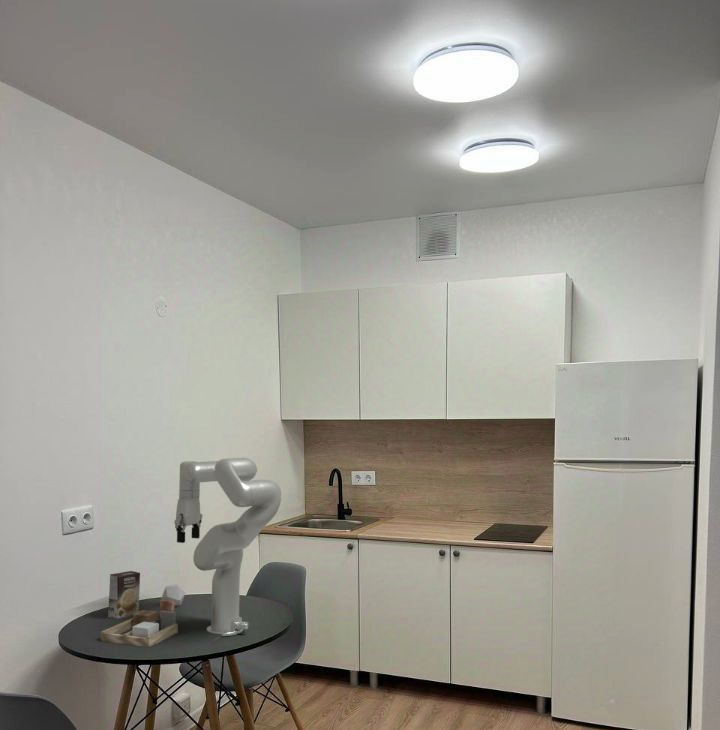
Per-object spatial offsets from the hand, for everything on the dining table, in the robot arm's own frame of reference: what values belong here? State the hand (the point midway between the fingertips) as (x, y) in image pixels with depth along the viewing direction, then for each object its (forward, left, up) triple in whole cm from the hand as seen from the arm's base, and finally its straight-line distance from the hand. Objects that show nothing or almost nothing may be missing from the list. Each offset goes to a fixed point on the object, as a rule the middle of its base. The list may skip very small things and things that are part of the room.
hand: (188, 540), depth 261 cm
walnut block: (+4, +14, -27) cm, 31 cm away
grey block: (-4, +26, -27) cm, 38 cm away
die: (+14, -12, -28) cm, 34 cm away
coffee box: (+22, +8, -28) cm, 37 cm away
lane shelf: (0, +25, -28) cm, 37 cm away
